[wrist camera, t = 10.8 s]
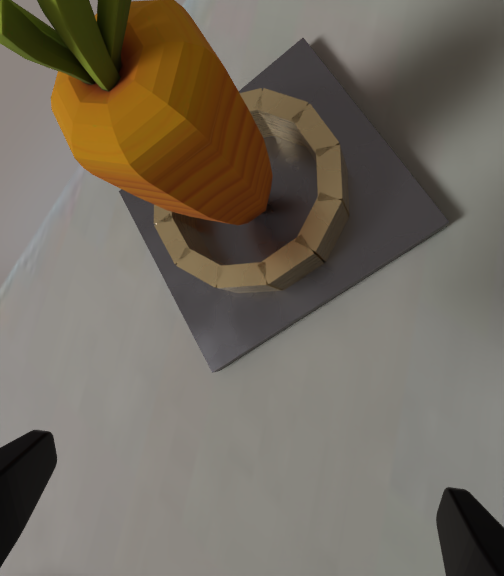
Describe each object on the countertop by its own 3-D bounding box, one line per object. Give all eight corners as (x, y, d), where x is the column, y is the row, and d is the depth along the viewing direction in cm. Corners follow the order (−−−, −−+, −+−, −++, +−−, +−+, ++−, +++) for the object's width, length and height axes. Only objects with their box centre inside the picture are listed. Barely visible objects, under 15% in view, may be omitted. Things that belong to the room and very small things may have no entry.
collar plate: (446, 226, 18) (457, 203, 15) (219, 371, 21) (187, 377, 18) (306, 48, 21) (290, -2, 18) (127, 195, 24) (87, 175, 21)
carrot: (195, 224, 21) (-193, 0, 7) (248, 145, 21) (-57, -264, 7) (266, 276, 19) (-61, 114, 5) (325, 191, 19) (135, -228, 5)
